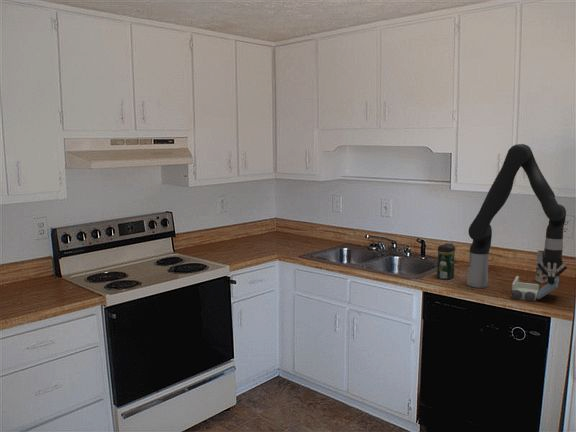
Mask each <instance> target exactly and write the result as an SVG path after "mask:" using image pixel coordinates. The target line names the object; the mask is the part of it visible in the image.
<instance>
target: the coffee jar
mask: <svg viewBox="0 0 576 432" xmlns="http://www.w3.org/2000/svg"><path fill="white" fill-rule="evenodd" d="M455 247H456V246H455V245H454V244H453V243H444V244H440V245H438V246H437V270H436V277H437V278H438V279H440V280H451V279H453V278H454V277H455V255H456V248H455Z"/></svg>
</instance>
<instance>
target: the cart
mask: <svg viewBox="0 0 576 432" xmlns="http://www.w3.org/2000/svg"><path fill="white" fill-rule="evenodd" d="M519 277H520V276H519V275H516V276H515V278H514V280H513V282H512V283H511V298H510V299H514V300H517V301H518V300H522V301H527V302H536V300H537V299H538V298H537V295H538V293H539V290H540V285H539V284H537V283H527V282H520V278H519Z"/></svg>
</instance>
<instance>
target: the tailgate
mask: <svg viewBox="0 0 576 432" xmlns="http://www.w3.org/2000/svg"><path fill="white" fill-rule="evenodd" d="M559 282H560V278H559V277H558V278H556V279H555V281H554V283H553V284H549V283H546V284H545V285H543V286H542V287H540V288H539V292H538V295H537V298H536V299H538V300H540V299H542V298H544V297H546V295H548V294H550V293H552V292H553V291H555V290H556V289H558V287H559Z"/></svg>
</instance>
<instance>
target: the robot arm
mask: <svg viewBox="0 0 576 432" xmlns="http://www.w3.org/2000/svg"><path fill="white" fill-rule="evenodd" d="M520 168H522V170H523V171H524V172H525V175H526V176H527V179H528V182H529V184H530V187H531V189H532V191H533V193H534V194H535V196H536V198H537V199H538V201H539V203H540V205H541V208H542V210H543V212H544V215H545V216H546V217H547V219H548V224H547V226H546V229H545V230H546V231H545V232H546V233H545V238H544V239H545V240H544V250H543V251H544V258H543V260H542V262H540V263H538V264H537V263H536V266H537V265H538V267H539V268H540V269H541V271H542V272H543V273H544V274H545V275H547V276H548V281H547V282H548V283H549V284H553V283H554V281H555V276H560V275H562V274H563V273H564V272H565V271H566V270H567V269H568V265H566V264H565V263H564V261H563V249H564V228H565V223H566V217H567V209H566V208H565V206H564V205H562V204H559V203H558V201H557V199H556V195H555V193H554V191H553V189H552V187H551V186H550V184H549V182H548V181H547V180H546V178H545V176H544V175H543V173H542V171H541V169H540V167H539V165H538V163H537V161H536V159H535V155H534V153H533V151H532V149H531V146H529V145H527V144H525V143H518V144H514V145H512V146H511V147H510V148H509V149H508V150H507V152H506V156H505V158H504V161H503V164H502V166H501V168H500V171H499V172H498V173H497V175H496V177H495V179H494V180H493V183H492V185H491V187H490V188H489V190H488V192H487V194H486V196H485V198H484V200H483V203H482V205H481V207H480V209H479V211H478V213H477V214H476V216H475V218H474V219H473V221H471V224H470V225H469V228H468V231H467V232H468V236H469V238H470V239H472V243H471V245H470V246H469V256H468V257H469V259H468V260H469V261H468V267H467V279H466V286H469V287H473V288H477V289H478V288H479V289H480V288H481V289H482V288H483V289H484V288H487V287H488V279H489V278H488V276H489V275H488V274H489V261H490V260H489V259H490V249H491V247H492V235H493V228H492V226H491V222H492V220H493V219H494V217H495V216H496V215H497V213H499V212H500V210H501V209H502V208H503V206H504V205H505V204H506V202H507V201H508V199H509V197H510V195H511V192H512V189H513V186H514V183H515V178H516V175H517V174H518V172H519V170H520ZM543 263H544V265H545V266H546V268H548V272H547V271H546V270H545V269H544V267H543ZM558 268H559V271H558V272H557V273H556V269H558ZM560 268H561V269H560ZM551 269H553V272H552V276H551ZM548 283H547V284H548Z"/></svg>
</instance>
